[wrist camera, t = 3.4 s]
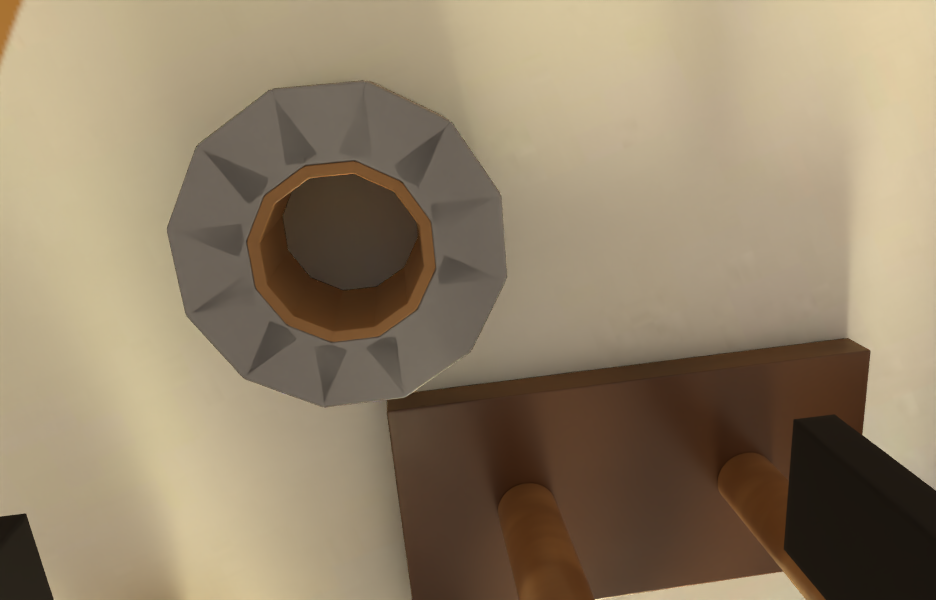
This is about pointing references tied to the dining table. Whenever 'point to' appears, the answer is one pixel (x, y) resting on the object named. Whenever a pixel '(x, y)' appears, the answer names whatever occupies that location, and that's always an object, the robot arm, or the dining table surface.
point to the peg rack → (613, 474)
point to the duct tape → (311, 301)
